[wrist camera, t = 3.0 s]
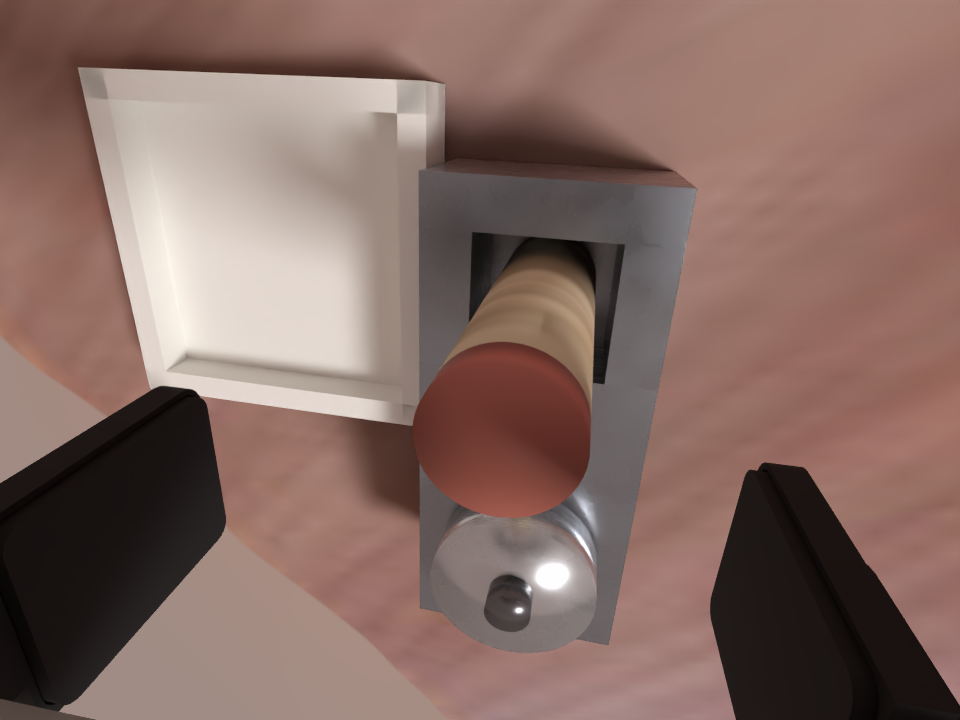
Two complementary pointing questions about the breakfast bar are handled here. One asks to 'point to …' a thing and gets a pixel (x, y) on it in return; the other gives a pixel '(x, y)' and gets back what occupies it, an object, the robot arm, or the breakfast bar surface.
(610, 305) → the block
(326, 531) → the breakfast bar surface
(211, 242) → the tray
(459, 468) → the lock pin
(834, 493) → the breakfast bar surface
